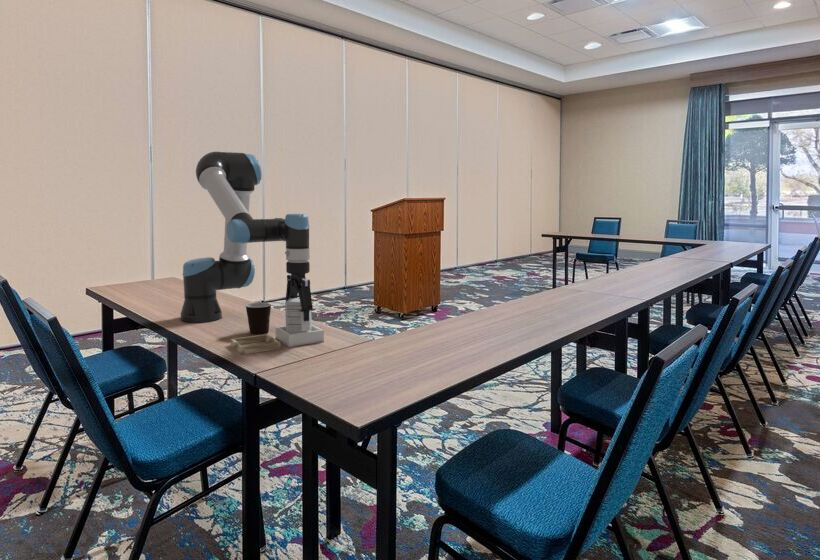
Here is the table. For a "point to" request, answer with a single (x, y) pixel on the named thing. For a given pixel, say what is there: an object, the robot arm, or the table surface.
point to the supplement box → (294, 316)
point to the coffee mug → (258, 317)
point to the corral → (257, 348)
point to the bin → (299, 336)
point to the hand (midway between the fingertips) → (299, 326)
